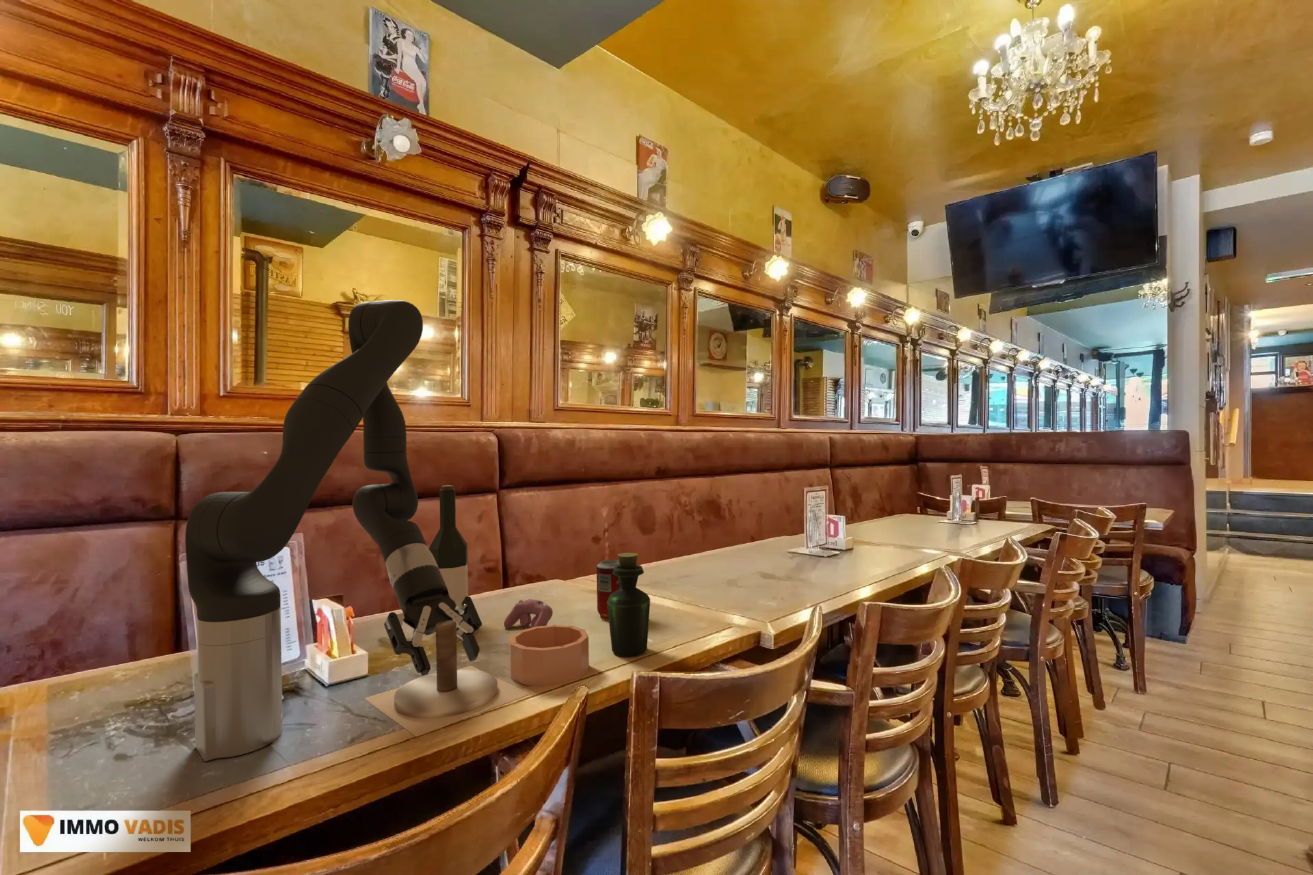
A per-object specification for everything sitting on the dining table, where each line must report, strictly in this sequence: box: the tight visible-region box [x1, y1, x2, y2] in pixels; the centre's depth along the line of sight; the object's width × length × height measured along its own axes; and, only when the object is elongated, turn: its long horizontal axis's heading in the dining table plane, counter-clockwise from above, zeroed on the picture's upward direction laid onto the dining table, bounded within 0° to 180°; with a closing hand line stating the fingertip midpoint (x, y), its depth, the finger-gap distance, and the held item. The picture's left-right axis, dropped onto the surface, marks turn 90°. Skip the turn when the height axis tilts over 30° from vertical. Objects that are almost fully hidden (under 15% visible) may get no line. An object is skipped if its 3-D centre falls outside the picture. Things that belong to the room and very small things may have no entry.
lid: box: [394, 620, 498, 718], centre depth 94 cm, size 15×15×11 cm
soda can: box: [595, 559, 621, 621], centre depth 136 cm, size 7×7×12 cm
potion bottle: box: [607, 552, 651, 658], centre depth 113 cm, size 8×8×18 cm
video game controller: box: [503, 598, 553, 629], centre depth 129 cm, size 10×5×7 cm, turn 59°
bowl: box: [508, 624, 590, 687], centre depth 104 cm, size 13×13×6 cm
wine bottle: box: [428, 484, 469, 622], centre depth 134 cm, size 8×8×30 cm
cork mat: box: [363, 665, 531, 738], centre depth 94 cm, size 18×18×1 cm
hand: (451, 665), depth 93 cm, fingers open, 7 cm apart
